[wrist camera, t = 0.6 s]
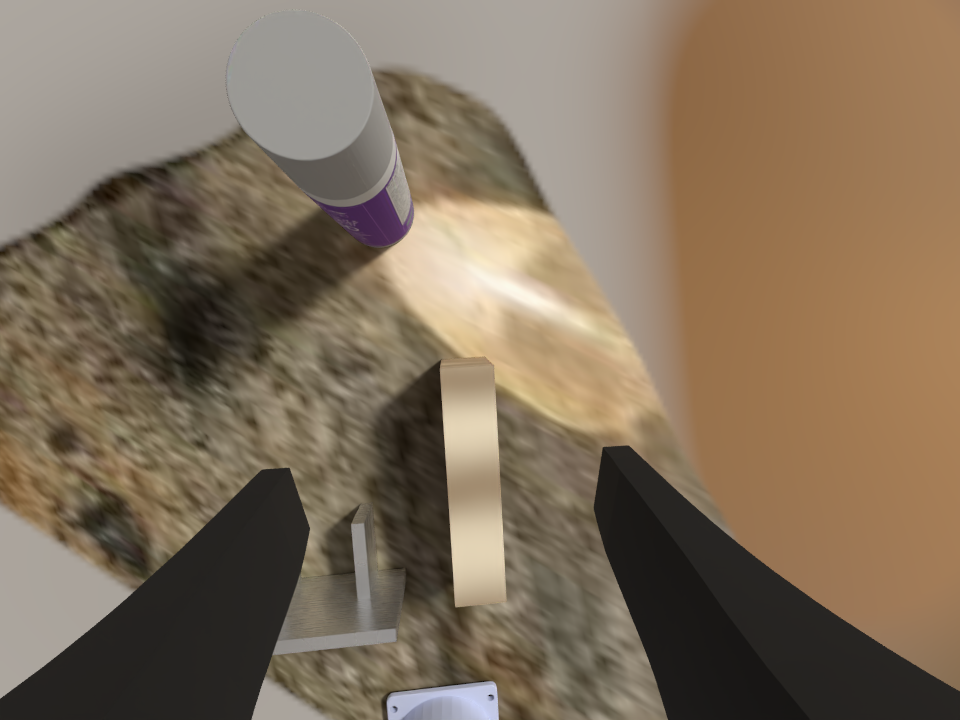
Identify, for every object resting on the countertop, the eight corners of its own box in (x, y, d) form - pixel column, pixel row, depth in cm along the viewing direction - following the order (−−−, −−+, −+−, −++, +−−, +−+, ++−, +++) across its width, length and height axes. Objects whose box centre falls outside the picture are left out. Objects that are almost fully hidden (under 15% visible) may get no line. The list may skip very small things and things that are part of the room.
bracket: (406, 585, 30) (397, 649, 24) (262, 599, 30) (216, 669, 24) (400, 500, 30) (388, 545, 24) (253, 513, 29) (203, 562, 23)
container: (341, 245, 28) (219, 158, 13) (342, 172, 27) (220, -6, 13) (412, 250, 28) (375, 171, 13) (415, 178, 28) (380, 13, 13)
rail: (494, 547, 31) (506, 601, 25) (454, 551, 31) (455, 607, 25) (484, 356, 29) (493, 365, 24) (441, 359, 29) (439, 368, 23)
